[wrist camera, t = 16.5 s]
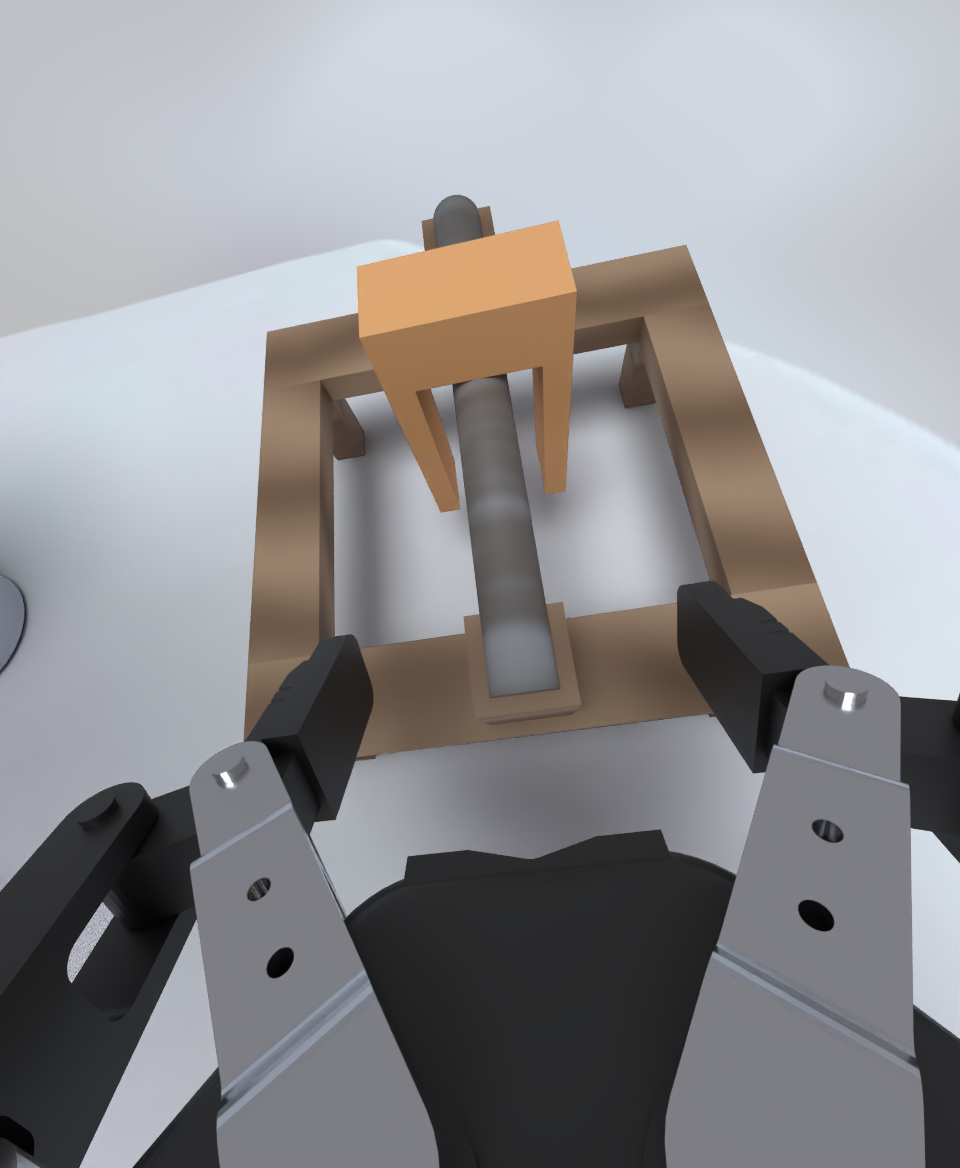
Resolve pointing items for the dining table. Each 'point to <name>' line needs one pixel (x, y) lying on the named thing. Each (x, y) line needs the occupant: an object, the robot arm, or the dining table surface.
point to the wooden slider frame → (523, 523)
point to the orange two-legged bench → (473, 338)
